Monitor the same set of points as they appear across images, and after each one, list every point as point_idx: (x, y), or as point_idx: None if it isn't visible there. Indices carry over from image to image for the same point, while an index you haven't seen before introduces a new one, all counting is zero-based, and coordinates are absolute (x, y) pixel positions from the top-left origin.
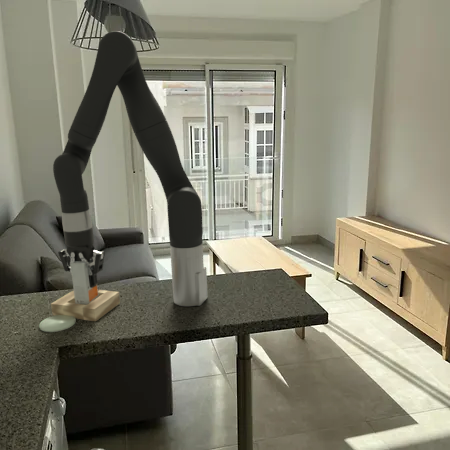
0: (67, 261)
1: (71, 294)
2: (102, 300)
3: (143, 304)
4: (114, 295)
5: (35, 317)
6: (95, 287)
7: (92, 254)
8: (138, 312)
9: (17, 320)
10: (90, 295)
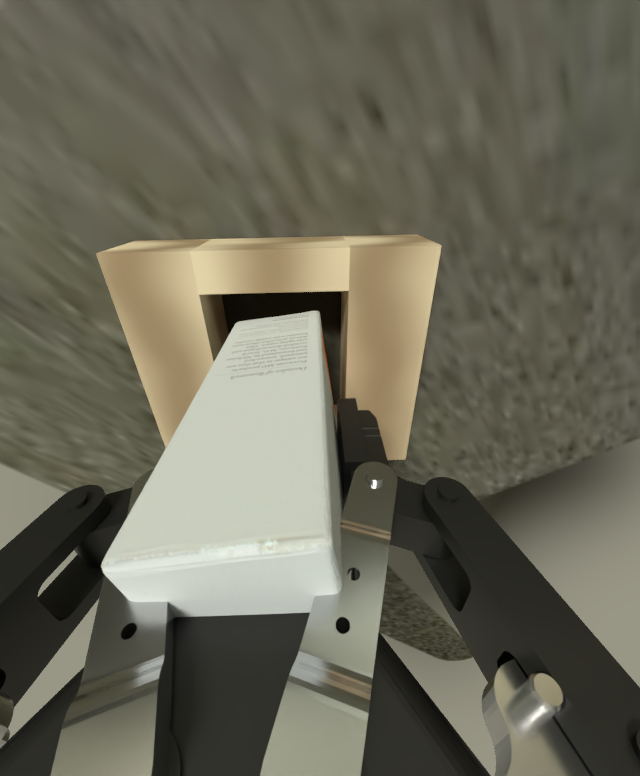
0: (54, 618)
1: (166, 364)
2: (395, 382)
3: (565, 207)
4: (431, 302)
5: (145, 455)
6: (326, 365)
7: (435, 744)
8: (552, 309)
9: (109, 484)
10: (334, 412)
